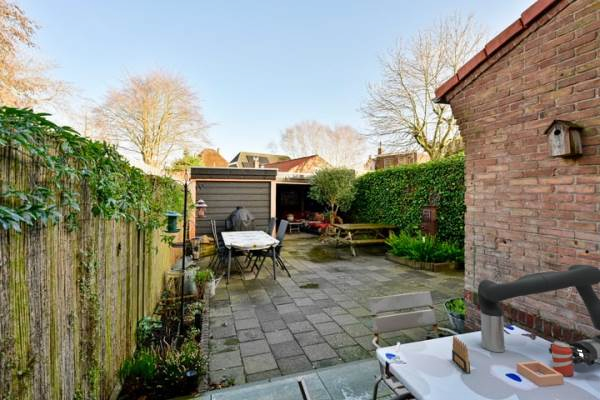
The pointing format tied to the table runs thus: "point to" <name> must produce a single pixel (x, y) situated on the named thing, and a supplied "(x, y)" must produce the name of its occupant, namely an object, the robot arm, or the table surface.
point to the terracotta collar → (541, 380)
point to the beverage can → (562, 358)
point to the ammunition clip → (460, 355)
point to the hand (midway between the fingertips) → (561, 356)
